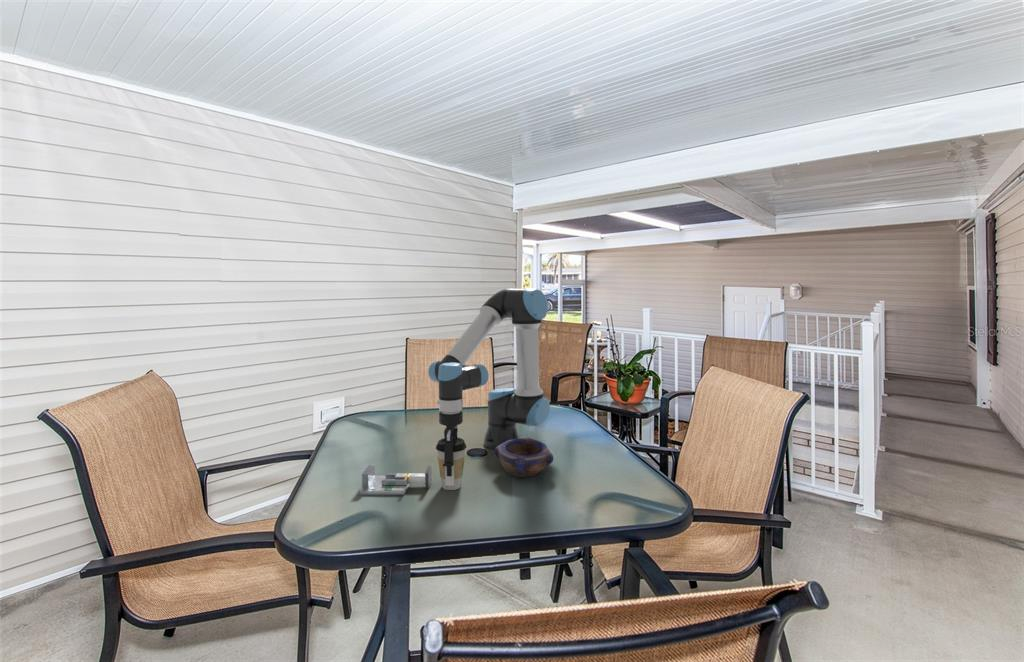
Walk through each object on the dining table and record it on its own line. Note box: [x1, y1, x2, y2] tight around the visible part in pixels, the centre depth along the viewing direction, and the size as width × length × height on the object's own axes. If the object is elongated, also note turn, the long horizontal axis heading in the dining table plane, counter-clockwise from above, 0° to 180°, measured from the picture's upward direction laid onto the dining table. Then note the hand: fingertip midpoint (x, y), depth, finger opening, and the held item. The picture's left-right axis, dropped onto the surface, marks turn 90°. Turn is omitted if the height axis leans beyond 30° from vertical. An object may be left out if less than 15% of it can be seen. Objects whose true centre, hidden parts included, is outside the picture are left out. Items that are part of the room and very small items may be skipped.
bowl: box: [494, 437, 554, 478], centre depth 161 cm, size 18×18×10 cm
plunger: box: [395, 465, 433, 489], centre depth 149 cm, size 11×8×5 cm
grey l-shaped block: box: [359, 465, 411, 496], centre depth 150 cm, size 14×12×6 cm
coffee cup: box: [435, 437, 467, 491], centre depth 150 cm, size 10×10×15 cm
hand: (451, 478), depth 150 cm, fingers closed on coffee cup, 9 cm apart
